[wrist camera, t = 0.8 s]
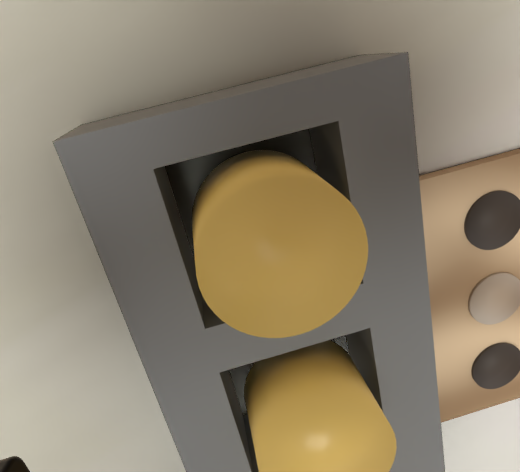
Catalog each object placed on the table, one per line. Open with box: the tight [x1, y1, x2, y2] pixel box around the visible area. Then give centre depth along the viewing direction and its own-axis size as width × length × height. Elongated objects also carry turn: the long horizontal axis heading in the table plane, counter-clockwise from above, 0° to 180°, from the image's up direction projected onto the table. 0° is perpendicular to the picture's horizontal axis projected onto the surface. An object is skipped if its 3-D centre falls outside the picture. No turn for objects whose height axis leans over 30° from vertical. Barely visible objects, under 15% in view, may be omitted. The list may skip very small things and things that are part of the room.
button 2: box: [244, 340, 397, 472], centre depth 18 cm, size 5×5×4 cm
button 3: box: [192, 150, 368, 338], centre depth 15 cm, size 5×5×4 cm
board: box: [53, 52, 445, 472], centre depth 20 cm, size 25×11×4 cm, turn 13°
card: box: [419, 148, 520, 422], centre depth 22 cm, size 14×8×1 cm, turn 13°
